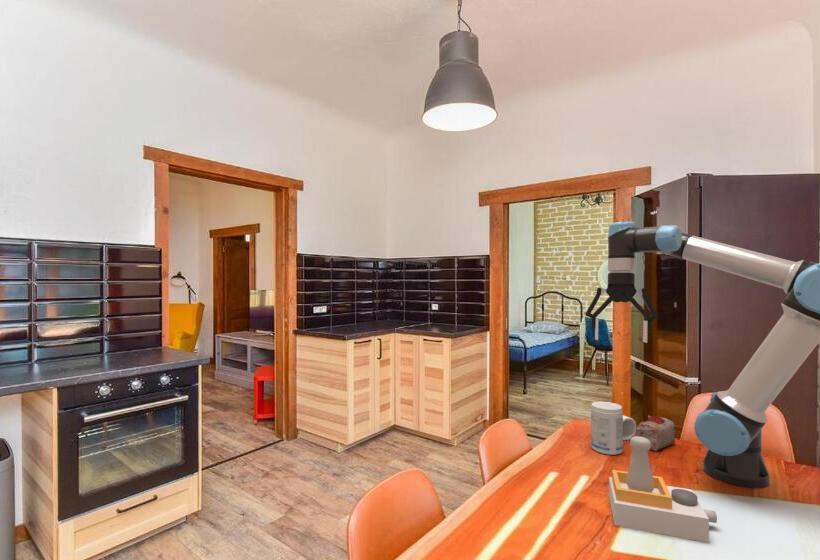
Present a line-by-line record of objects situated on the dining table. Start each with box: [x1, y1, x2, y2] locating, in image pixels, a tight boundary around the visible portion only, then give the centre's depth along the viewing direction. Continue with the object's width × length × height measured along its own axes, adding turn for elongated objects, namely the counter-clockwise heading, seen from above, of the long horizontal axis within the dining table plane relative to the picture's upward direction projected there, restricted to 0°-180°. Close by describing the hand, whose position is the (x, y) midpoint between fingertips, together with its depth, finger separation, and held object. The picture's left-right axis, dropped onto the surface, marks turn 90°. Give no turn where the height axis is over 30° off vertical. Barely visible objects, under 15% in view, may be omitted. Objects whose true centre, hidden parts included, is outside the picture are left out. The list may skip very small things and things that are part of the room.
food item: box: [634, 414, 676, 452], centre depth 146 cm, size 14×8×10 cm, turn 125°
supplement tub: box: [590, 401, 624, 456], centre depth 141 cm, size 10×10×15 cm
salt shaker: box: [626, 435, 654, 493], centre depth 102 cm, size 6×6×13 cm
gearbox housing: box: [608, 469, 718, 544], centre depth 100 cm, size 21×14×8 cm, turn 70°
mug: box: [623, 414, 637, 441], centre depth 155 cm, size 12×10×8 cm
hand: (620, 340), depth 134 cm, fingers open, 13 cm apart
